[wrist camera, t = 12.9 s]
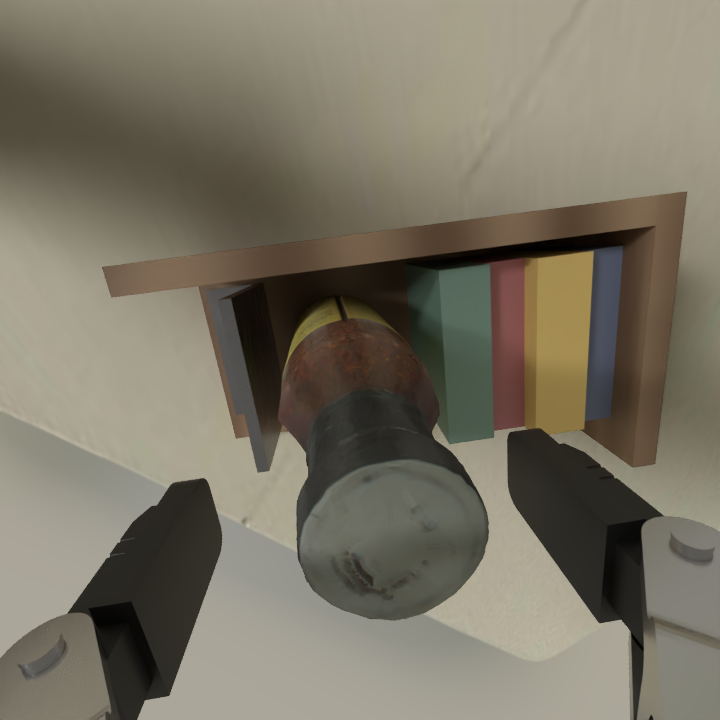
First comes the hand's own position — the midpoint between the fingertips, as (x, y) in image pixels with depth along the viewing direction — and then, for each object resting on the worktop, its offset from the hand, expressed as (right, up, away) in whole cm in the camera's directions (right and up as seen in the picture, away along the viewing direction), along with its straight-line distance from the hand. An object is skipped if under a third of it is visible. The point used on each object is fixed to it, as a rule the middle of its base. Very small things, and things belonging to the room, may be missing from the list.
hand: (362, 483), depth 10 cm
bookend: (-8, +4, +16) cm, 19 cm away
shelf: (+2, +6, +18) cm, 19 cm away
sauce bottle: (-1, +5, +17) cm, 18 cm away
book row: (+8, +6, +17) cm, 20 cm away
